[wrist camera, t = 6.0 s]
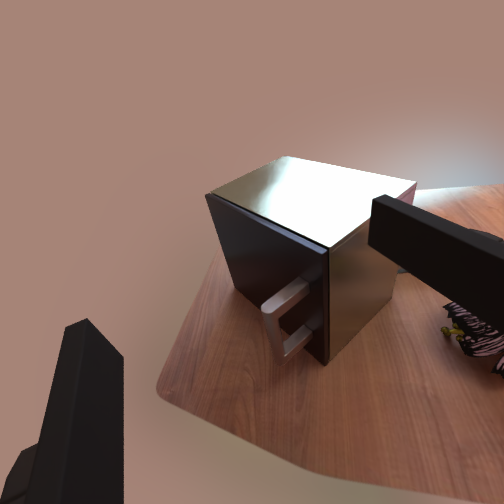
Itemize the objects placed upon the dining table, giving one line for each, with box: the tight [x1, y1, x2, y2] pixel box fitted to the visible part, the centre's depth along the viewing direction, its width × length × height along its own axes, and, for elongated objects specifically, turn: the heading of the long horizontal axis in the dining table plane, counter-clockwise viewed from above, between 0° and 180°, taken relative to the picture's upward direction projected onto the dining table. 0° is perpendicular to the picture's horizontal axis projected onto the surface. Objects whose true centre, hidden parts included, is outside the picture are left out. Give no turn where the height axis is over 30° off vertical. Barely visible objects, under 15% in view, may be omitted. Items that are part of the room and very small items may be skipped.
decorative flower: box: [441, 302, 504, 379], centre depth 37 cm, size 15×12×15 cm
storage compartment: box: [211, 156, 417, 361], centre depth 47 cm, size 18×26×24 cm
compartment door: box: [205, 193, 329, 366], centre depth 42 cm, size 8×26×23 cm, turn 38°
